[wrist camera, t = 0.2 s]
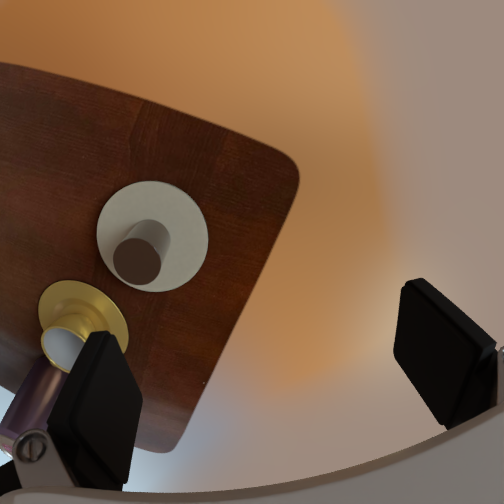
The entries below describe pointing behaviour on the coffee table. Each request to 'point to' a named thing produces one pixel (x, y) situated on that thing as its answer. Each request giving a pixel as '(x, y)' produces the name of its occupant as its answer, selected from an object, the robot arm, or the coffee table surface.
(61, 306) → the cup
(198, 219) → the lid
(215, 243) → the coffee table surface
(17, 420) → the beverage can
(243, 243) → the coffee table surface
